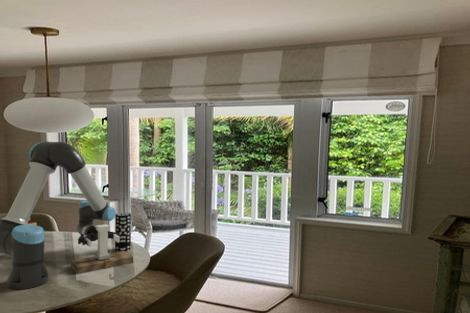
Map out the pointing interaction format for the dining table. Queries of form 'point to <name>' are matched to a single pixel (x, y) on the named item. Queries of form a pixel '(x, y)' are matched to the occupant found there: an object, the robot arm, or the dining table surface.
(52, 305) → the dining table surface
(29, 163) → the robot arm
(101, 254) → the fader knob
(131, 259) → the fader console
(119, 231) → the spotted tube
